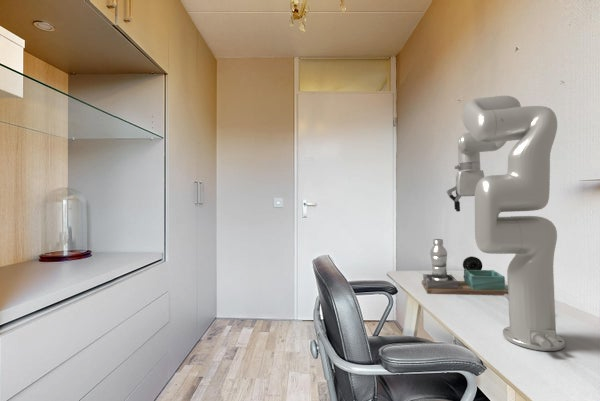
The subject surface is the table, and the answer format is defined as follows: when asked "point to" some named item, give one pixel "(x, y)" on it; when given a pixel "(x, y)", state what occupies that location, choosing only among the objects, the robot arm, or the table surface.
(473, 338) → the table surface
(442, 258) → the metal bottle
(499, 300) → the table surface
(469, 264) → the webcam
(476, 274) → the sorting tray
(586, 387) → the table surface
